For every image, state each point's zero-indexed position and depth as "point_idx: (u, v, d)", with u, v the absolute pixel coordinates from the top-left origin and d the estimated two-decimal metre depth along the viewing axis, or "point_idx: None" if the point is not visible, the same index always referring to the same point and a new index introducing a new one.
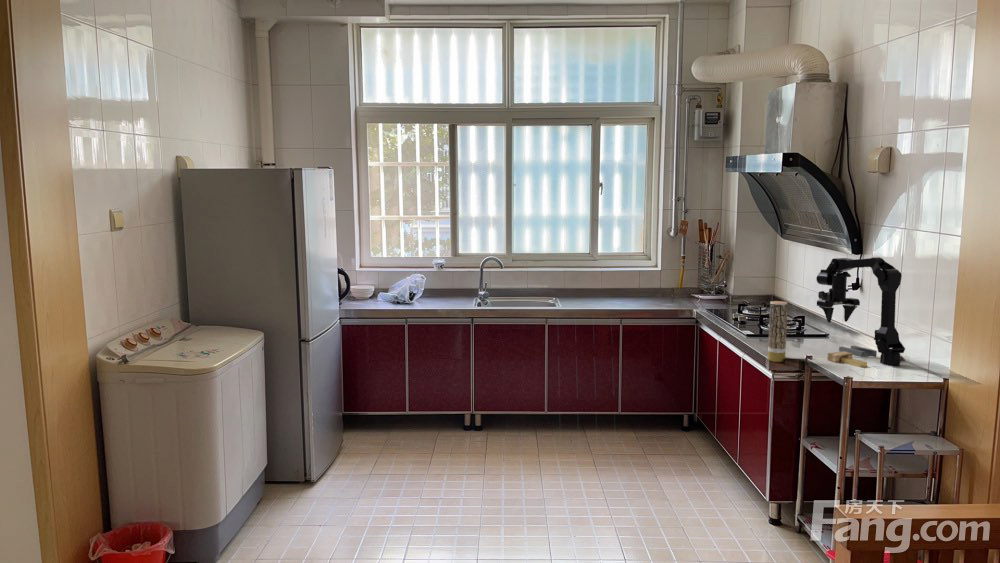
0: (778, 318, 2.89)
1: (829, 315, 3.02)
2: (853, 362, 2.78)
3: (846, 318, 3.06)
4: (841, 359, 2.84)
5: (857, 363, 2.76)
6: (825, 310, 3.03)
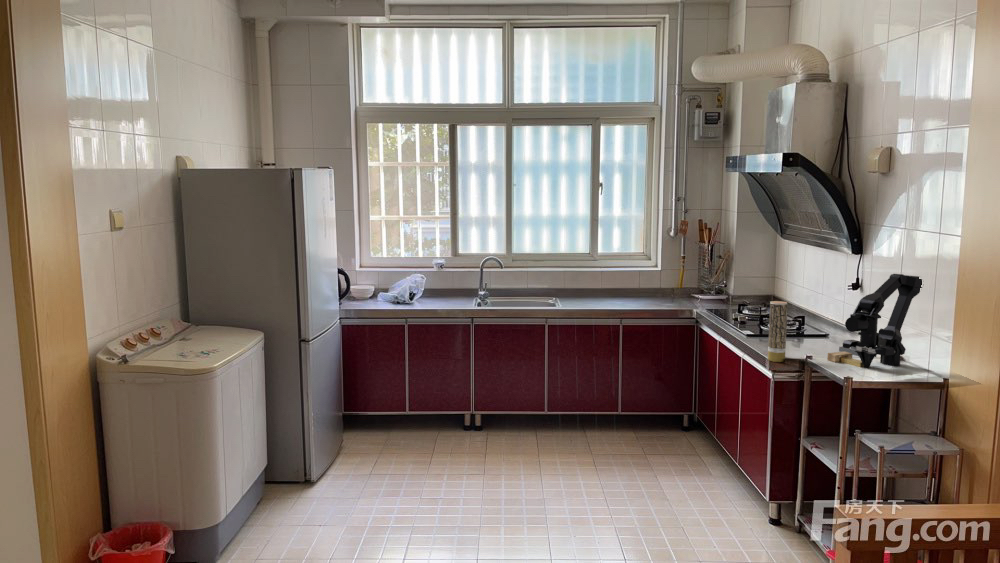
0: (778, 318, 2.89)
1: None
2: (853, 362, 2.78)
3: None
4: (841, 359, 2.84)
5: (857, 363, 2.76)
6: None
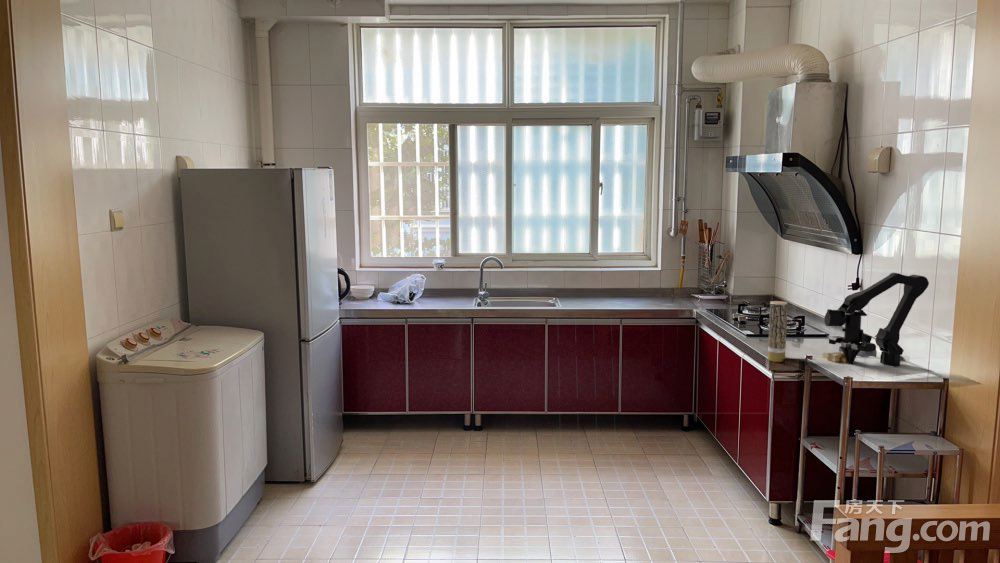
0: (778, 318, 2.89)
1: None
2: (839, 358, 2.85)
3: None
4: (827, 355, 2.91)
5: (842, 359, 2.84)
6: None
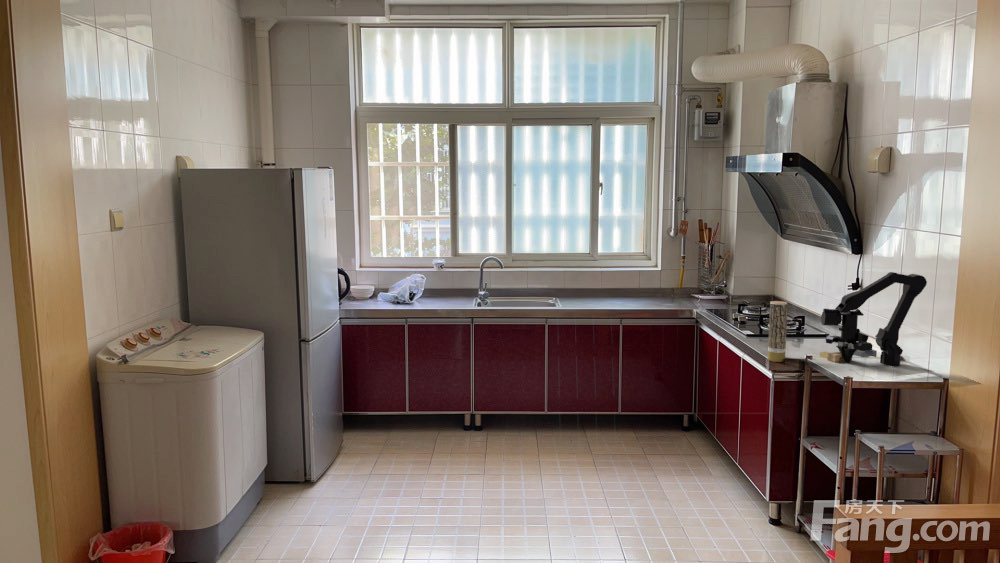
0: (778, 318, 2.89)
1: None
2: None
3: None
4: (824, 354, 2.93)
5: (839, 358, 2.85)
6: None
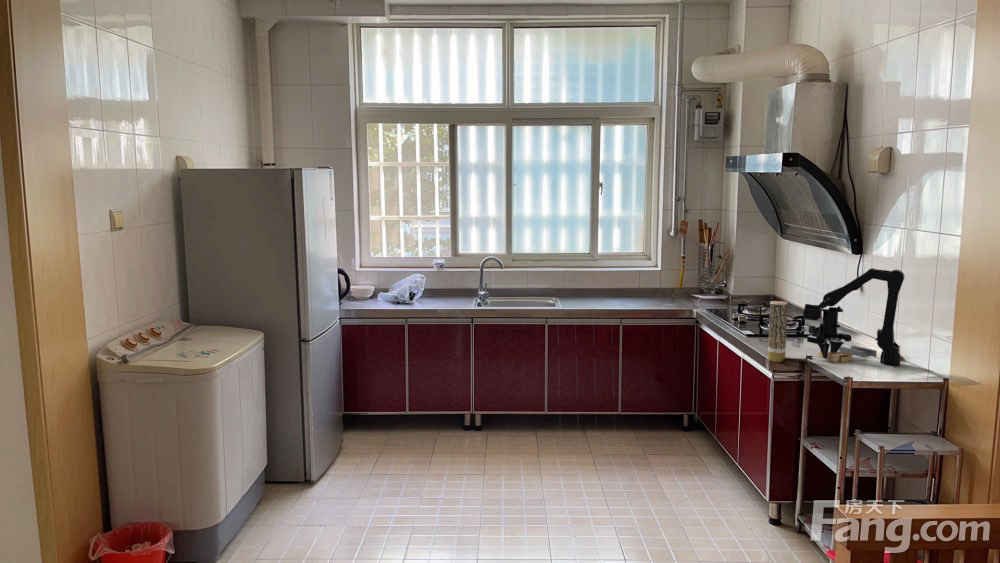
0: (778, 318, 2.89)
1: (825, 351, 2.90)
2: None
3: None
4: None
5: None
6: (821, 346, 2.92)
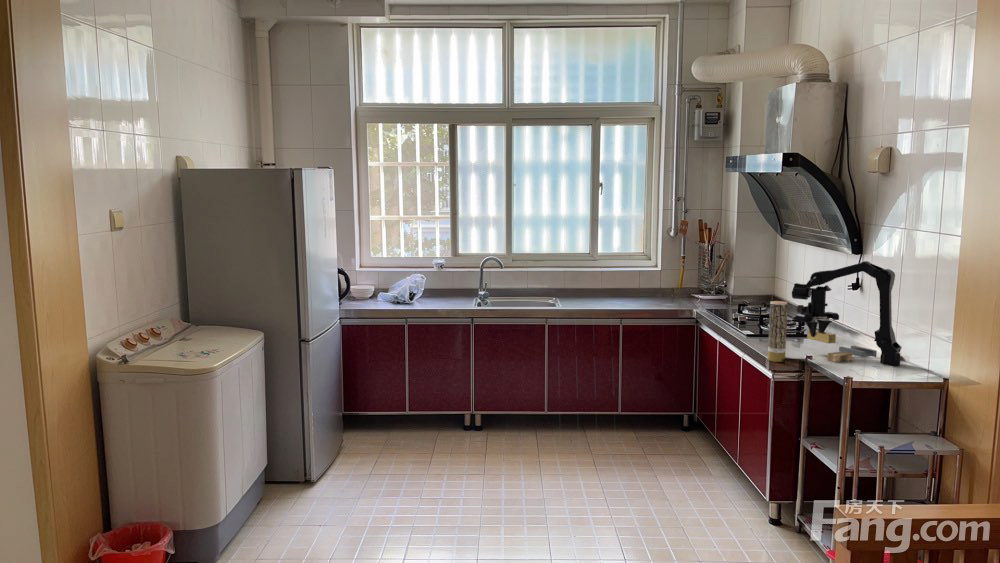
0: (778, 318, 2.89)
1: (813, 329, 2.96)
2: (822, 335, 2.93)
3: None
4: None
5: (826, 335, 2.91)
6: (809, 324, 2.98)
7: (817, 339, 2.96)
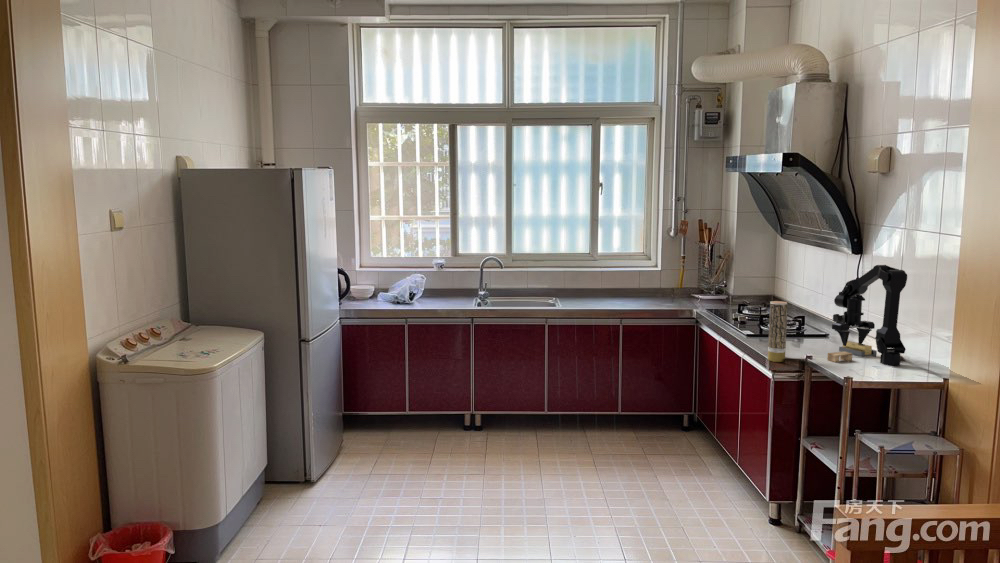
0: (778, 318, 2.89)
1: (845, 338, 3.01)
2: (859, 346, 2.99)
3: (860, 341, 3.05)
4: (847, 343, 3.05)
5: (862, 347, 2.97)
6: (841, 333, 3.03)
7: None
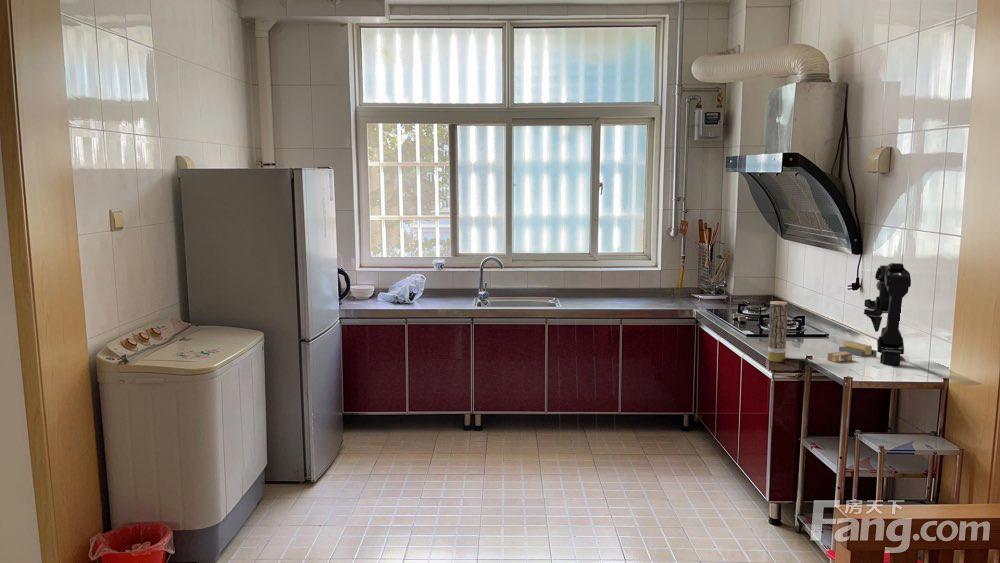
0: (778, 318, 2.89)
1: (877, 324, 2.93)
2: (859, 346, 2.99)
3: None
4: (847, 343, 3.05)
5: (862, 347, 2.97)
6: (873, 319, 2.95)
7: None
